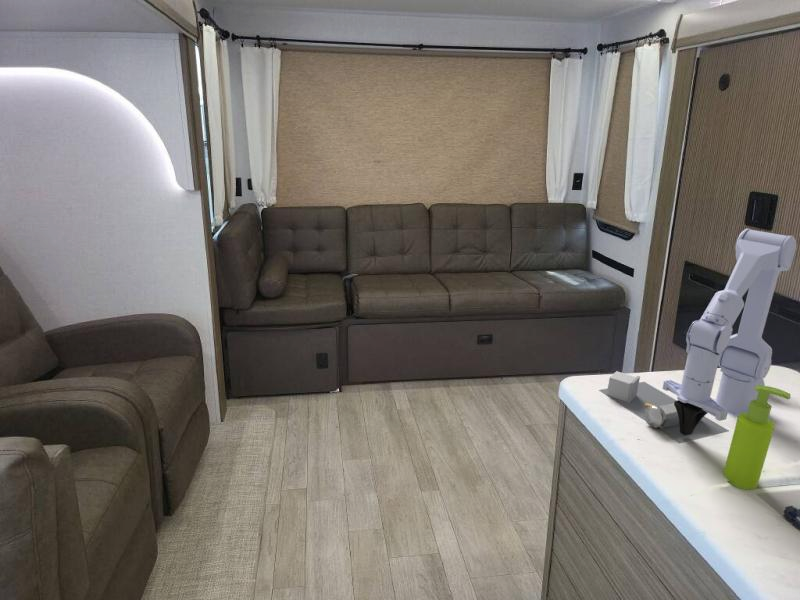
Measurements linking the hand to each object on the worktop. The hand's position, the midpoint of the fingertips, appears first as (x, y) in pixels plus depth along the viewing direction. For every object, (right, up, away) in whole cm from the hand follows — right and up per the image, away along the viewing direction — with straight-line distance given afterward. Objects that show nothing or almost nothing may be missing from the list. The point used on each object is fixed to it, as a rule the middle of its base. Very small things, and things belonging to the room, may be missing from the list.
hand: (685, 433), depth 122 cm
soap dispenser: (+5, -6, -13) cm, 15 cm away
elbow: (+1, +1, +6) cm, 7 cm away
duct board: (0, +2, +12) cm, 12 cm away
